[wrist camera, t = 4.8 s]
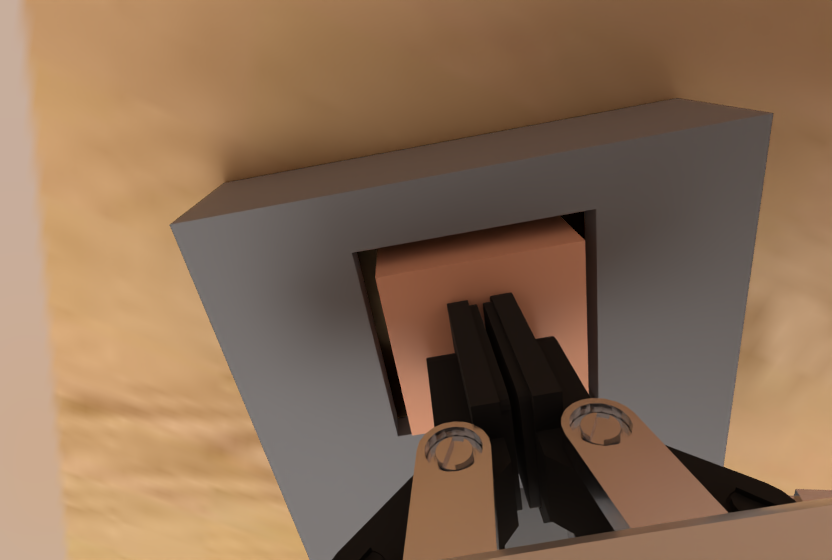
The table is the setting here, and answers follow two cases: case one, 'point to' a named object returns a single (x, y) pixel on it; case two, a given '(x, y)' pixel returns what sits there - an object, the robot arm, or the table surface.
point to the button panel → (464, 212)
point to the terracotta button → (480, 295)
